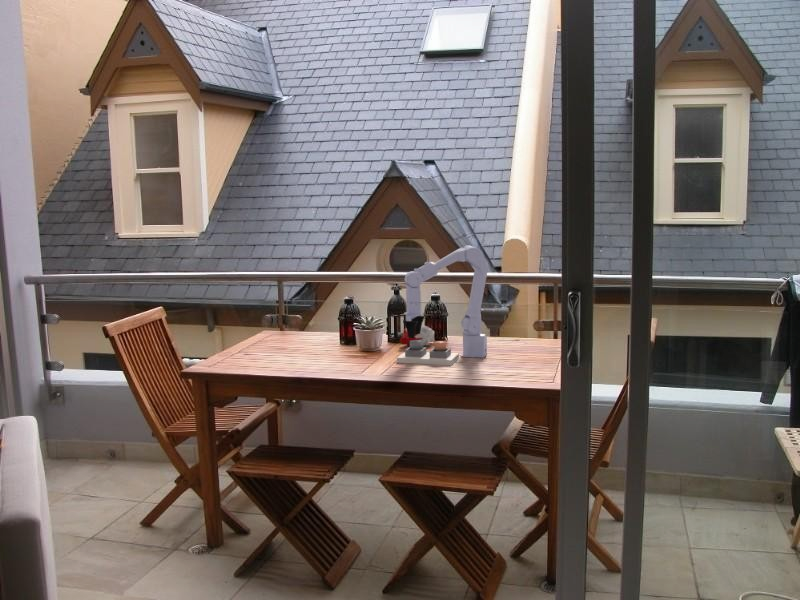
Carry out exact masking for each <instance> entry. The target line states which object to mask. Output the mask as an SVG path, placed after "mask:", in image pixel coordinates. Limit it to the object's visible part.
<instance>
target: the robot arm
mask: <svg viewBox="0 0 800 600" xmlns="http://www.w3.org/2000/svg"><path fill="white" fill-rule="evenodd" d="M456 262H462V263H463V262H465V263H466V262H467V263H468V264H469V265H470V266H471V267H472V269H473V270H474V272H473V276H472V277H473V278H472V282H471V283H472V284H471V288H470V294H469V300H468V305H467V309H466V310H465V315H464V316H463V318H462V319H461V323H460V324H461V327H462V328H463V332H462V353H461V354H459V357H462V358H465V357H466V358H482V359H483V358H484V357H486V355H487V354H488V339H487V334H485V333H481V332H482V330H483V324H482V314H481V313H482V312H481V310H482V305H483V298H484V293H485V287H486V282H487V276H488V270H489V267H488V264H487V262H486V259H485V255H484V253H483V252H482V251H481V249H480V248H479V247H475V246H472V245H469V244H467V245H465V246H463V247H460V248H458V249H456V250H454V251H452V252H451V253H449V254H447V255H446V256H444V257H442V258H440V259H439V260H437V261H435V262H433V261H429V262H428V261H426V262H424V265H422V266H420V267H418V268H414V269H413V271H409V272H407V273H406V274H405V276H404V278H403V279H404V283H405V284H406V286H405V289H406V290H405V296H406V297H405V298H406V299H405V300H406V302H405V303H406V312H404V313H403V316H404V315H405V319H404V320H402V323H403V324H404V326H405V328H406V329H407V333H408V337H409V338H414V337H415V334H420V331H421V326H422V325H423V322H424V319H425V317H426V316H425V315H422V314H423V310H422V296H421V295H422V294H421V285H422V283H424V282H425V281H428V280H430V279H432V278H434V277H435V276H437V275H438V273H439V270H441V269H443V268H444V269H445V268H446V267H448V266H450V265H452V264H454V263H456Z"/></svg>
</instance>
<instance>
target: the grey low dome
mask: <svg viewBox="0 0 800 600" xmlns="http://www.w3.org/2000/svg"><path fill="white" fill-rule="evenodd" d="M409 347H410V348H412V349H419V348H422V347H423V346H422V344H421V341H420V340H412V341H410V346H409Z"/></svg>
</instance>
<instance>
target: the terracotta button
mask: <svg viewBox="0 0 800 600" xmlns="http://www.w3.org/2000/svg"><path fill="white" fill-rule="evenodd" d="M433 343H434V345H433V348H434V349H436V350H444V349H446V348H447V342H446V341H445V340H444V341H443V340H437V341H434V342H433Z"/></svg>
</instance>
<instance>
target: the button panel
mask: <svg viewBox="0 0 800 600" xmlns="http://www.w3.org/2000/svg"><path fill="white" fill-rule="evenodd" d="M451 350H452V348H449V347H446V349H444V350H436V349H434V347H433V348H431V349H430V350H429V351H427V346H426V347H425V346H422V348H419V349H412V348H410V346H409V347H407V348H406V349H404V352H402V354H400V355H399V356H397V357H396V363H398V364H414V365H415V364H420V365H436V366H437V365H438V366H440V365H441V366H452V365H453V364H454V363H456V362H457V361H458V360H459V359H460V354H459V352H452V351H451Z"/></svg>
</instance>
